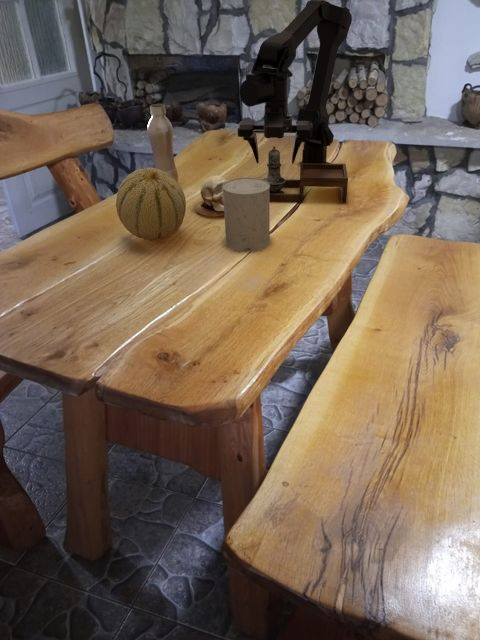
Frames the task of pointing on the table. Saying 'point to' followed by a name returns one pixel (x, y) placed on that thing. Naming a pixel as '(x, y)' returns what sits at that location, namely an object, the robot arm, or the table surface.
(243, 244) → the grey stone cylinder
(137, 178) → the cantaloupe
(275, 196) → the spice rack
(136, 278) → the table surface
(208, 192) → the skull
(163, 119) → the plastic bottle
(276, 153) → the grey rounded piece
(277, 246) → the table surface
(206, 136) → the table surface
